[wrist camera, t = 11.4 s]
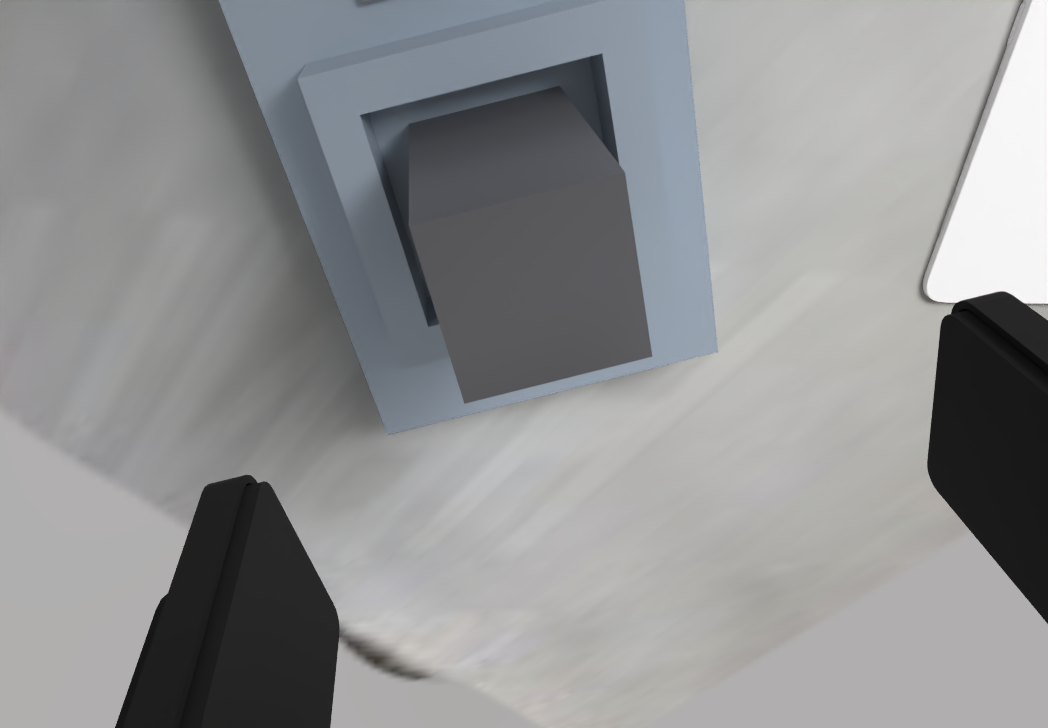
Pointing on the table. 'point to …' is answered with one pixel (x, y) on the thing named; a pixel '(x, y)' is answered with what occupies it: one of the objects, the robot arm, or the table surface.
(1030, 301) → the smartphone
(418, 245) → the block
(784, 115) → the table surface
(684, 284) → the blue-grey fixture board
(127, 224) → the table surface
